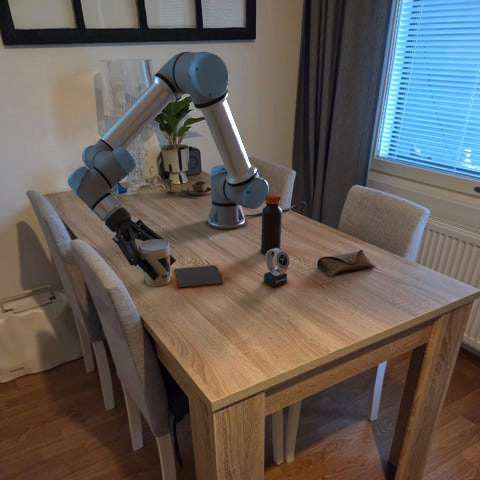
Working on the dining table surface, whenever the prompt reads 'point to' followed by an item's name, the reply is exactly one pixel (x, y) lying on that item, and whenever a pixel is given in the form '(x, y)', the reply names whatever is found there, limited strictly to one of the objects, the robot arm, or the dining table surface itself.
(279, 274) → the watch
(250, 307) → the dining table surface
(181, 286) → the coaster
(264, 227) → the bottle
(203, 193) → the place setting
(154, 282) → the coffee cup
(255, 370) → the dining table surface
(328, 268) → the sunglasses case
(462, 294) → the dining table surface
